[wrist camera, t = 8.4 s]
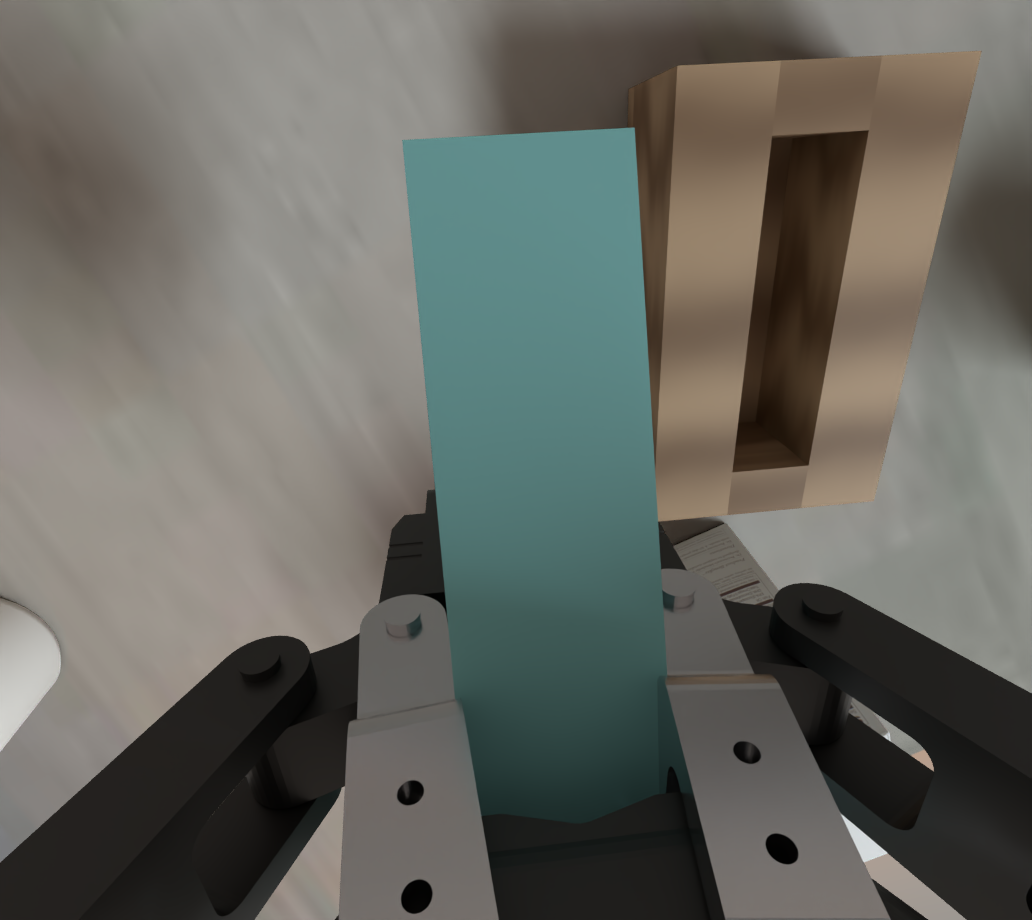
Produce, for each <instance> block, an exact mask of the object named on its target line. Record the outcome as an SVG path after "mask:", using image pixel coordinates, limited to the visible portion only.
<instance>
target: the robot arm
mask: <svg viewBox="0 0 1032 920" xmlns="http://www.w3.org/2000/svg"><path fill="white" fill-rule="evenodd" d="M658 528H659V545H660V561H661V578H662V595H663V612H664V628H665V645H666V662H667V675H664V676H659V678H658V680H657V700H658V753H659V794H656V795H653V796H651V797H648V798H646V799H643V800H641V801H639V802H636V803H634V804H631V805H629V806H626V807H624V808H622V809H619V810H617V811H614V812H612V813H609V814H607V815H605V816H602V817H600V818H597V819H595V820H592V821H590V822H586V823H580V824H579V823H569V822H561V821H554V820H546V819H538V818H531V817H523V816H516V815H508V814H494V815H486V816H481V812H480V806H479V800H478V794H477V788H476V782H475V776H474V770H473V764H472V758H471V752H470V747H469V741H468V735H467V729H466V723H465V717H464V711H463V705H462V700H461V698H457V699H455V694H454V683H453V672H452V662H451V651H450V640H449V630H448V619H447V609H446V598H445V587H444V577H443V566H442V555H441V545H440V534H439V524H438V513H437V502H436V492H435V490H428V491H427V501H426V513H424V514H414V515H404V516H403V517H402V519H401V520H400V521H399V522H398V523H397V524H396V526H395V527H394V528H393V529H392V532H391V538H390V544H389V549H388V555H387V561H386V566H385V572H384V578H383V583H382V589H381V595H380V600H379V604H378V605H376V606H375V607H374V608H372V609H371V610H370V611H369V612H368V613H367V614H366V615H365V617H364V618H363V620H362V623H361V626H360V633H359V634H358V635H356V636H354V637H353V638H351V639H349V640H347V641H345V642H343V643H340V644H338V645H335V646H332V647H329V648H326V649H323V650H320V651H317V652H314V653H311V654H310V652H309V650H308V648H307V646H306V645H305V644H304V643H303V642H302V641H300V640H299V639H296V638H294V637H289V636H271V637H266V638H262V639H259V640H255V641H253V642H251V643H248V644H246V645H244V646H242V647H240V648H239V649H237V650H236V651H234V652H233V653H231V654H230V655H229V656H228V657H227V658H225V659H224V660H223V661H222V662H221V663H220V664H219V665H218V666H217V667H216V668H214V669H213V670H212V671H211V672H210V673H209V674H208V675H207V676H206V677H205V678H203V679H202V680H201V681H200V682H199V683H198V684H197V685H196V686H195V687H193V688H192V689H191V690H190V691H189V692H188V693H187V694H186V695H185V696H184V697H182V698H181V699H180V700H179V701H178V702H177V703H176V704H175V705H174V706H173V707H171V708H170V709H169V710H168V711H167V712H166V713H165V714H164V715H163V716H161V717H160V718H159V719H158V720H157V721H156V722H155V723H154V724H153V725H152V726H150V727H149V728H148V729H147V730H146V731H145V732H144V733H143V734H142V735H141V736H139V737H138V738H137V739H136V740H135V741H134V742H133V743H132V744H131V745H130V746H128V747H127V748H126V749H125V750H124V751H123V752H122V753H121V754H120V755H118V756H117V757H116V758H115V759H114V760H113V761H112V762H111V763H110V764H109V765H107V766H106V767H105V768H104V769H103V770H102V771H101V772H100V773H99V774H98V775H96V776H95V777H94V778H93V779H92V780H91V781H90V782H89V783H88V784H87V785H85V786H84V787H83V788H82V789H81V790H80V791H79V792H78V793H77V794H75V795H74V796H73V797H72V798H71V799H70V800H69V801H68V802H67V803H66V804H64V805H63V806H62V807H61V808H60V809H59V810H58V811H57V812H56V813H55V814H53V815H52V816H51V817H50V818H49V819H48V820H47V821H46V822H45V823H43V824H42V825H41V826H40V827H39V828H38V829H37V830H36V831H35V832H34V833H32V834H31V835H30V836H29V837H28V838H27V839H26V840H25V841H24V842H23V843H21V844H20V845H19V846H18V847H17V848H16V849H15V850H14V851H13V852H12V853H10V854H9V855H8V856H7V857H6V858H5V859H4V860H3V861H2V862H0V920H255V918H256V917H257V915H258V914H259V912H260V911H261V909H262V908H263V906H264V905H265V904H266V902H267V901H268V899H269V898H270V896H271V895H272V893H273V892H274V890H275V889H276V888H277V886H278V885H279V883H280V882H281V880H282V879H283V877H284V876H285V875H286V873H287V872H288V870H289V869H290V867H291V866H292V864H293V863H294V861H295V860H296V859H297V857H298V856H299V854H300V853H301V851H302V850H303V848H304V847H305V845H306V844H307V843H308V841H309V840H310V838H311V837H312V835H313V834H314V832H315V831H316V829H317V828H318V827H319V825H320V824H321V822H322V821H323V819H324V818H325V816H326V815H327V814H328V812H329V811H330V809H331V808H332V806H333V805H334V803H335V802H336V800H337V798H338V796H339V794H340V791H341V788H342V787H344V786H345V796H344V817H343V839H342V860H341V881H340V903H339V915H338V916H337V918H336V919H335V920H928V919H926V918H925V917H924V916H922V915H921V914H919V913H918V912H917V911H915V910H914V909H913V908H911V907H910V906H908V905H907V904H906V903H904V902H903V901H902V900H900V899H899V898H898V897H896V896H895V895H894V894H892V893H891V892H889V891H888V890H887V889H885V888H884V887H882V886H881V885H880V884H879V883H877V882H876V881H874V880H873V879H871V877H870V875H869V873H868V871H867V869H866V866H865V864H864V862H863V860H862V858H861V856H860V854H859V851H858V849H857V847H856V845H855V843H854V841H853V839H852V837H851V835H850V832H849V830H848V828H847V826H846V824H845V822H844V820H843V818H842V816H841V814H842V815H843V816H844V817H845V818H847V819H848V820H849V821H850V822H851V823H853V824H854V825H855V826H856V827H857V828H859V829H860V830H861V831H862V832H863V833H864V834H866V835H867V836H868V837H869V838H870V839H872V840H873V841H874V842H875V843H876V844H877V845H879V846H880V847H881V848H882V849H883V850H885V851H886V852H887V853H888V854H889V855H891V856H892V857H893V858H894V859H895V860H896V861H898V862H899V863H900V864H901V865H902V866H904V867H905V868H906V869H907V870H909V871H910V872H911V873H912V874H913V875H914V876H915V877H917V878H918V879H919V880H920V881H921V882H923V883H924V884H925V885H926V886H927V887H929V888H930V889H931V890H932V891H933V892H935V893H936V894H937V895H938V896H939V897H940V898H942V899H943V900H944V901H945V902H946V903H947V904H949V905H950V906H951V907H952V908H954V909H955V910H956V911H957V912H958V913H959V914H961V915H962V916H963V917H964V918H965V919H967V920H1032V693H1030V692H1028V691H1026V690H1024V689H1022V688H1020V687H1019V686H1017V685H1015V684H1013V683H1011V682H1009V681H1007V680H1006V679H1004V678H1002V677H1000V676H998V675H996V674H994V673H993V672H991V671H989V670H987V669H985V668H983V667H981V666H980V665H978V664H976V663H974V662H972V661H970V660H969V659H967V658H965V657H963V656H961V655H959V654H957V653H956V652H954V651H952V650H950V649H948V648H946V647H944V646H943V645H941V644H939V643H937V642H935V641H933V640H931V639H930V638H928V637H926V636H924V635H922V634H920V633H918V632H917V631H915V630H913V629H911V628H909V627H907V626H905V625H904V624H902V623H900V622H898V621H896V620H894V619H893V618H891V617H889V616H887V615H885V614H883V613H881V612H880V611H878V610H876V609H874V608H872V607H870V606H868V605H867V604H865V603H863V602H861V601H859V600H857V599H855V598H854V597H852V596H850V595H848V594H846V593H844V592H842V591H840V590H837V589H834V588H832V587H828V586H824V585H819V584H812V583H799V584H792V585H789V586H786V587H784V588H782V589H781V590H779V591H778V592H777V594H776V595H775V597H774V601H773V607H771V606H763V605H754V604H746V603H739V602H733V601H729V600H725V599H722V598H721V596H720V594H719V592H718V590H717V588H716V587H715V586H714V585H713V584H712V583H711V582H710V581H709V580H707V579H706V578H704V577H702V576H700V575H698V574H696V573H693V572H690V571H687V569H686V567H685V566H684V564H683V562H682V561H681V559H680V557H679V555H678V554H677V552H676V550H675V549H674V547H673V545H672V543H671V542H670V540H669V538H668V537H667V535H666V534H664V530H663V528H662V526H661V525H660V523H659V522H658ZM852 698H854V699H855V700H857V701H858V702H860V703H861V704H863V705H864V706H866V707H867V708H869V709H870V710H872V711H873V712H875V713H876V714H878V715H879V716H881V717H882V718H884V719H885V720H887V721H888V722H890V723H891V724H893V725H894V726H896V727H897V728H898V729H900V730H901V731H903V732H904V733H906V734H907V735H909V736H910V737H912V738H913V739H914V740H916V741H917V742H918V743H919V744H920V745H921V746H922V747H923V748H924V749H925V751H926V752H927V753H928V755H929V757H930V758H931V761H932V763H933V767H934V772H933V771H932V770H930V769H929V768H927V767H926V766H925V765H923V764H922V763H920V762H919V761H917V760H916V759H915V758H913V757H912V756H910V755H909V754H908V753H906V752H905V751H903V750H902V749H900V748H899V747H898V746H896V745H895V744H893V743H892V742H890V741H889V740H888V739H886V738H885V737H883V736H882V735H880V734H879V733H877V732H876V731H875V730H873V729H872V728H870V727H869V726H867V725H866V724H865V723H863V722H862V721H860V720H859V719H857V718H856V717H855V716H853V715H852V714H850V713H849V709H850V706H851V702H852ZM243 778H244V779H243ZM237 785H238V786H237ZM231 792H232V793H231ZM230 793H231V794H230ZM225 799H226V800H225ZM224 800H225V801H224ZM218 807H219V808H218ZM212 814H213V815H212Z"/></svg>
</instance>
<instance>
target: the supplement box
mask: <svg viewBox="0 0 1032 920" xmlns="http://www.w3.org/2000/svg"><path fill="white" fill-rule="evenodd" d="M673 547H674V549H675V550H676V552H677V554H678V555H679V557H680V559H681V561H682V562H683V564H684V566H685V567H686V569H687V571H690V572H693V573H696V574H698V575H700V576H702V577H704V578H706V579H707V580H709V581H710V582H711V583H712V584H713V585H714V586H715V587H716V588H717V590H718V592H719V594H720V596H721V598H722V599H725V600H729V601H733V602H739V603H746V604H754V605H763V606H771V607H773V601H774V597H775V595H776V594H777V592H778V591H779V590H778V589H777V587H776V586H775V585H774V583H773V582H772V581H771V580H770V578H769V577H768V576H767V574H766V573H765V572H764V571H763V569H762V568H761V567H760V566H759V564H758V563H757V562H756V560H755V559H754V558H753V556H752V555H751V554H750V553H749V551H748V550H747V549H746V547H745V546H744V545H743V544H742V542H741V541H740V540H739V538H738V537H737V536H736V535H735V533H734V532H733V531H732V530H731V528H730V527H729V526H728V525H727V524H726V523H725V524H723V525H720V526H718V527H716V528H713V529H711V530H709V531H707V532H704V533H702V534H700V535H697V536H695V537H693V538H691V539H688V540H686V541H684V542H681V543H679V544H677V545H675V546H673ZM849 713H850V714H852V715H853V716H855V717H856V718H857V719H859V720H860V721H862V722H863V723H865V724H866V725H867V726H869V727H870V728H872V729H873V730H875V731H876V732H877V733H879V734H880V735H882V736H883V737H885V738H886V739H888V740H889V741H890V734H889V731H888V730H887V728H886V727H885V726H884V725H883V723H882V722H881V721H880V719H879V718H878V717H877V716H876V714H875V713H874V712H873V711H872V710H870V709H869V708H867V707H866V706H864V705H863V704H861V703H860V702H858V701H857V700H855V699H854V698H852V702H851V706H850V709H849ZM890 742H891V741H890ZM841 816H842V818H843V820H844V822H845V824H846V826H847V828H848V830H849V832H850V835H851V837H852V839H853V841H854V843H855V845H856V847H857V849H858V851H859V854H860V856H861V858H862V860H863V862H866V861H869V860H871V859H874V858H877V857H879V856H882V855H885V854H887V852H886V851H885V850H883V849H882V848H881V847H880V846H879V845H877V844H876V843H875V842H874V841H873V840H872V839H870V838H869V837H868V836H867V835H866V834H864V833H863V832H862V831H861V830H860V829H859V828H857V827H856V826H855V825H854V824H853V823H851V822H850V821H849V820H848V819H847V818H845V817H844V816H843V815H842V814H841Z"/></svg>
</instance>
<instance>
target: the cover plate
mask: <svg viewBox="0 0 1032 920" xmlns="http://www.w3.org/2000/svg"><path fill="white" fill-rule="evenodd" d="M402 141H403V152H404V162H405V173H406V184H407V194H408V205H409V215H410V226H411V237H412V247H413V258H414V269H415V279H416V290H417V300H418V311H419V322H420V332H421V343H422V354H423V364H424V375H425V385H426V396H427V407H428V417H429V428H430V439H431V449H432V460H433V470H434V481H435V492H436V502H437V513H438V524H439V534H440V545H441V555H442V566H443V577H444V587H445V598H446V609H447V619H448V630H449V640H450V651H451V662H452V672H453V683H454V694H455V699H457V698H461V700H462V705H463V711H464V717H465V723H466V729H467V735H468V741H469V747H470V752H471V758H472V764H473V770H474V776H475V782H476V788H477V794H478V800H479V806H480V812H481V816H486V815H494V814H508V815H516V816H523V817H531V818H538V819H546V820H554V821H561V822H569V823H579V824H580V823H586V822H590V821H592V820H595V819H597V818H600V817H602V816H605V815H607V814H609V813H612V812H614V811H617V810H619V809H622V808H624V807H626V806H629V805H631V804H634V803H636V802H639V801H641V800H643V799H646V798H648V797H651V796H653V795H656V794H659V753H658V700H657V680H658V678H659V676H664V675H667V662H666V645H665V628H664V612H663V595H662V578H661V561H660V545H659V528H658V511H657V494H656V478H655V461H654V444H653V427H652V411H651V394H650V377H649V361H648V344H647V327H646V310H645V294H644V277H643V260H642V243H641V227H640V210H639V193H638V176H637V160H636V143H635V128H617V129H598V130H580V131H561V132H543V133H525V134H506V135H488V136H469V137H451V138H433V139H414V140H402Z"/></svg>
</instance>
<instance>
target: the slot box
mask: <svg viewBox="0 0 1032 920" xmlns="http://www.w3.org/2000/svg"><path fill="white" fill-rule="evenodd" d="M980 56H981V51H968V52H947V53H927V54H906V55H885V56H865V57H844V58H823V59H803V60H782V61H761V62H741V63H720V64H699V65H679V66H676V67H673V68H671V69H669V70H667V71H665V72H663V73H661V74H659V75H657V76H655V77H653V78H651V79H649V80H647V81H645V82H642V83H640V84H638V85H636V86H634V87H632V88H630V89H629V91H628V128H635V143H636V160H637V176H638V193H639V210H640V227H641V243H642V260H643V277H644V294H645V310H646V327H647V344H648V361H649V377H650V394H651V411H652V427H653V444H654V461H655V478H656V494H657V511H658V522H659V521H669V520H680V519H690V518H701V517H711V516H722V515H732V514H743V513H753V512H764V511H774V510H785V509H795V508H806V507H816V506H827V505H837V504H848V503H858V502H869V501H874V498H875V493H876V489H877V485H878V481H879V477H880V473H881V468H882V464H883V460H884V456H885V452H886V448H887V443H888V439H889V435H890V431H891V427H892V423H893V418H894V414H895V410H896V406H897V402H898V397H899V393H900V389H901V385H902V381H903V377H904V372H905V368H906V364H907V360H908V356H909V352H910V347H911V343H912V339H913V335H914V331H915V327H916V322H917V318H918V314H919V310H920V306H921V302H922V297H923V293H924V289H925V285H926V281H927V277H928V272H929V268H930V264H931V260H932V256H933V252H934V247H935V243H936V239H937V235H938V231H939V227H940V222H941V218H942V214H943V210H944V206H945V201H946V197H947V193H948V189H949V185H950V181H951V176H952V172H953V168H954V164H955V160H956V156H957V151H958V147H959V143H960V139H961V135H962V131H963V126H964V122H965V118H966V114H967V110H968V106H969V101H970V97H971V93H972V89H973V85H974V81H975V76H976V72H977V68H978V64H979V60H980Z"/></svg>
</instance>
